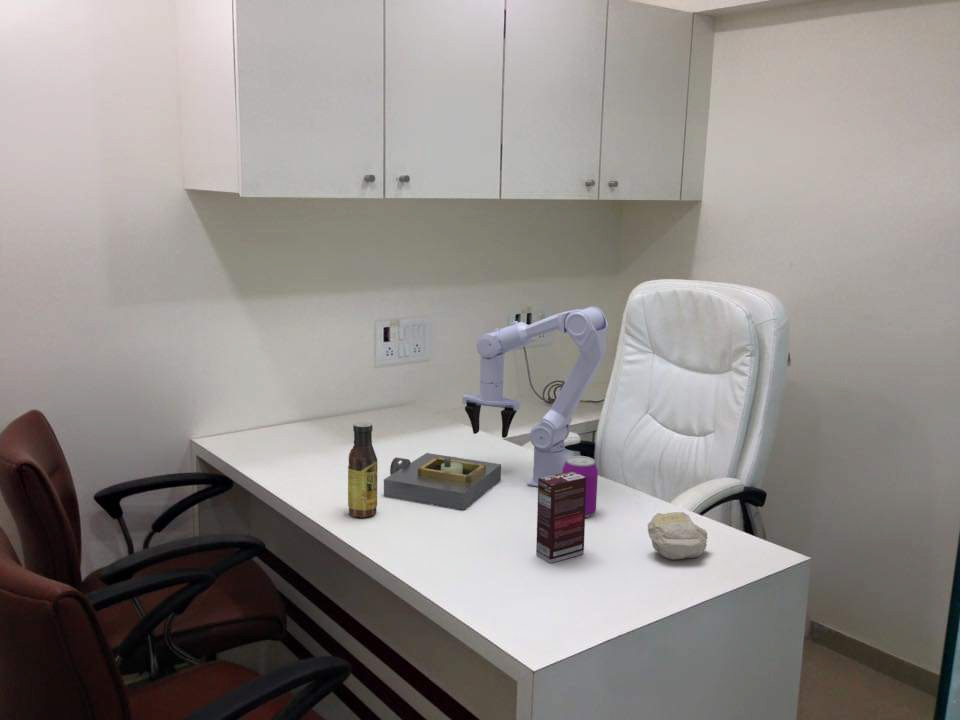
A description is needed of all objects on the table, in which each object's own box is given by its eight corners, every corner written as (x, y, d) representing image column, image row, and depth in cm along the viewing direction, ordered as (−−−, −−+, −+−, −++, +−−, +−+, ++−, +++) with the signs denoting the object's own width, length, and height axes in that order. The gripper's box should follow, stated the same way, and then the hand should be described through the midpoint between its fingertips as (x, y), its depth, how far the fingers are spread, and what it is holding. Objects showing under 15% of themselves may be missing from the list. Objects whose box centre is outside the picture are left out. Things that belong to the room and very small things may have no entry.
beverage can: (598, 508, 193) (600, 456, 191) (593, 520, 186) (595, 467, 183) (564, 504, 195) (566, 453, 193) (557, 516, 188) (559, 463, 185)
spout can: (466, 490, 202) (466, 458, 201) (448, 495, 199) (449, 461, 198) (454, 484, 206) (454, 452, 205) (436, 488, 203) (437, 456, 202)
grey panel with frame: (500, 480, 210) (501, 458, 209) (464, 510, 190) (464, 486, 189) (415, 466, 219) (415, 445, 217) (372, 494, 199) (372, 471, 198)
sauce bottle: (371, 520, 183) (371, 429, 179) (343, 517, 185) (342, 427, 181) (381, 509, 190) (381, 421, 186) (354, 506, 191) (353, 419, 187)
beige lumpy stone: (717, 557, 170) (675, 544, 177) (719, 515, 169) (677, 504, 176) (680, 569, 162) (638, 556, 169) (682, 525, 161) (639, 514, 168)
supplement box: (568, 545, 173) (572, 469, 170) (584, 554, 169) (588, 476, 166) (534, 555, 168) (537, 477, 165) (549, 564, 164) (552, 484, 161)
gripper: (525, 381, 213) (523, 434, 215) (470, 374, 218) (469, 427, 221) (515, 387, 206) (513, 441, 209) (459, 380, 212) (458, 434, 214)
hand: (490, 434), depth 214 cm, fingers open, 7 cm apart
